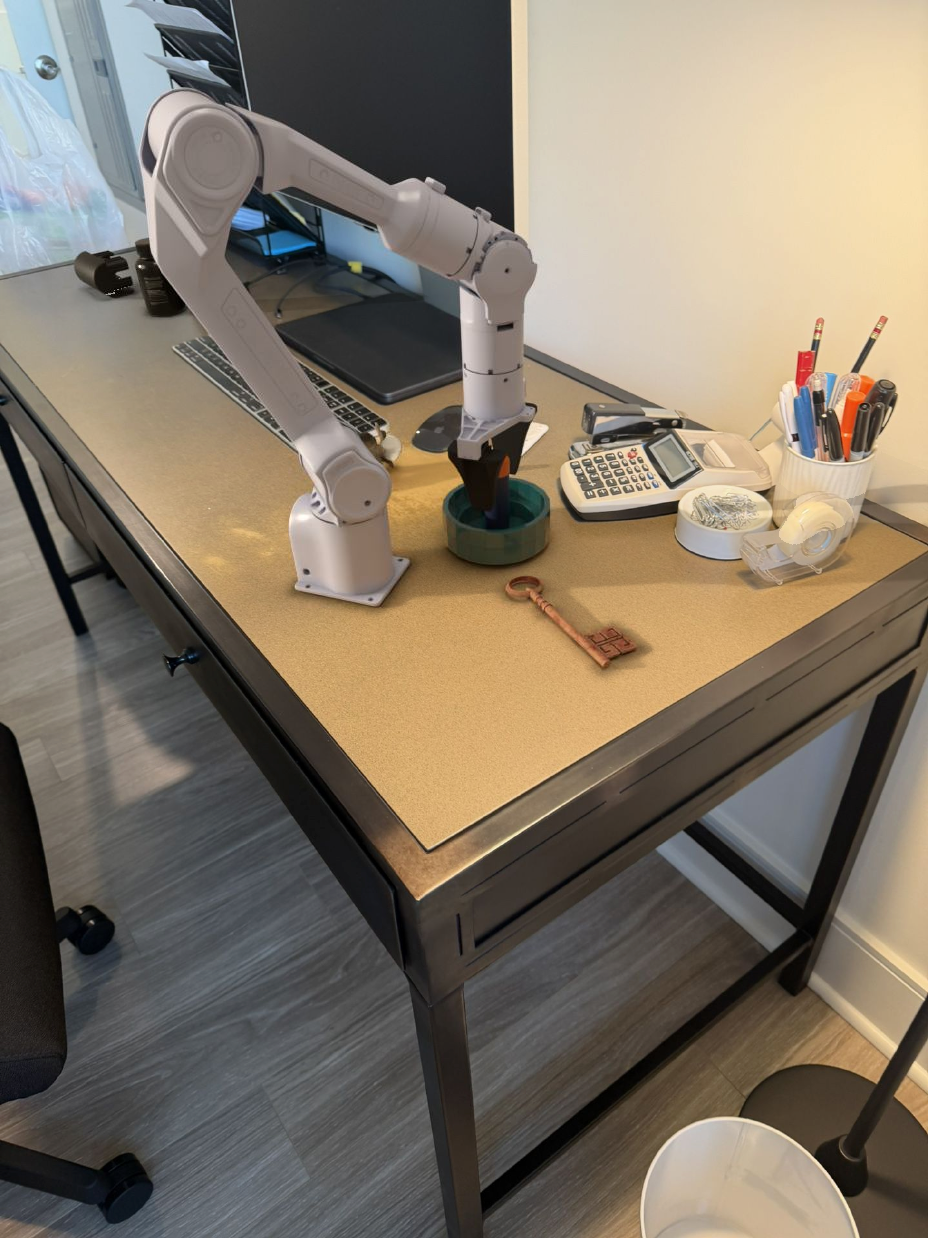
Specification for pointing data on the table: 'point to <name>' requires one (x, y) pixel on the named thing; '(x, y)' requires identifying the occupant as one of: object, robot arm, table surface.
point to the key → (583, 640)
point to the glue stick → (500, 502)
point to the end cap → (103, 273)
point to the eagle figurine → (382, 446)
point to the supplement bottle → (155, 284)
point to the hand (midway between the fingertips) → (495, 489)
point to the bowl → (498, 545)
